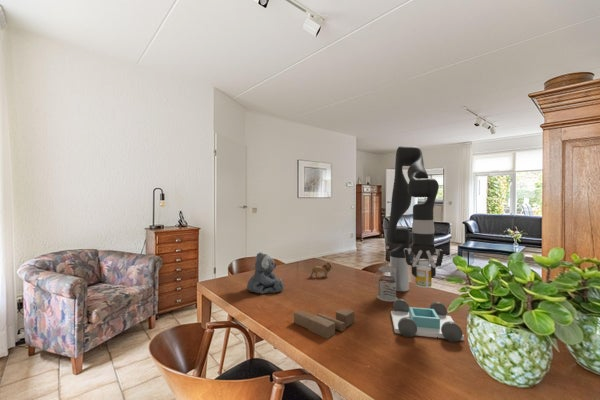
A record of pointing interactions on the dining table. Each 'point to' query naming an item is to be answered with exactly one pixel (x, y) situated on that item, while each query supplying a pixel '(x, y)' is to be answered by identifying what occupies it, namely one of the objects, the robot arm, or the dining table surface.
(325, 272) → the lion figurine
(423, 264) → the supplement bottle
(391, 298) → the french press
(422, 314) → the chassis
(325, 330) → the wooden block set
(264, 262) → the koala plush
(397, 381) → the dining table surface
